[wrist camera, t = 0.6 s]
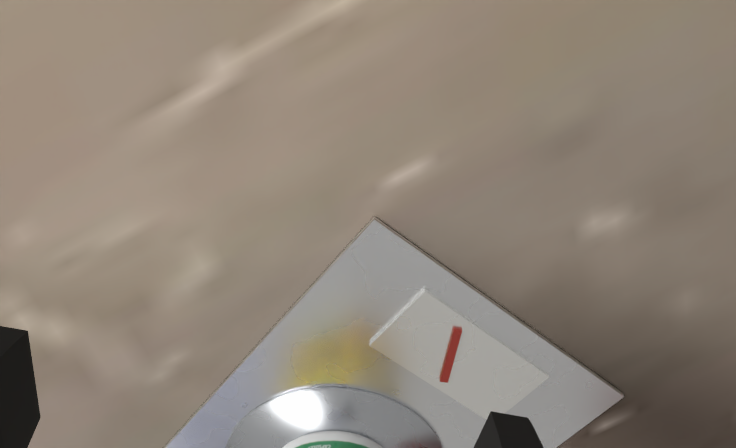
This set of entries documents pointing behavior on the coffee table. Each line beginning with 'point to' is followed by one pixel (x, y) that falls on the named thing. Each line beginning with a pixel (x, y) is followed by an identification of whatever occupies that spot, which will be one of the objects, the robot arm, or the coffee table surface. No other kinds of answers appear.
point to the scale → (396, 363)
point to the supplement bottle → (332, 440)
